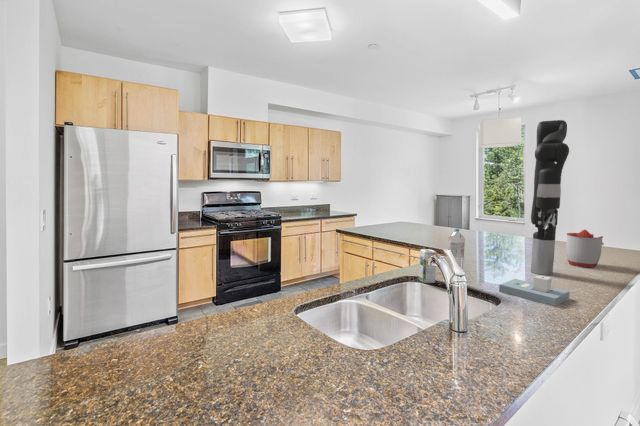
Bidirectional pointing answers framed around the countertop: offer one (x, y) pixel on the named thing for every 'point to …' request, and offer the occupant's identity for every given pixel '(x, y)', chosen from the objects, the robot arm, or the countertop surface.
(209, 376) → the countertop surface
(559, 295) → the plate
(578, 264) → the citrus juicer
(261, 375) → the countertop surface
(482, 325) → the countertop surface
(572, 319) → the countertop surface
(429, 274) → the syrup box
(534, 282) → the charger plug
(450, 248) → the water bottle
